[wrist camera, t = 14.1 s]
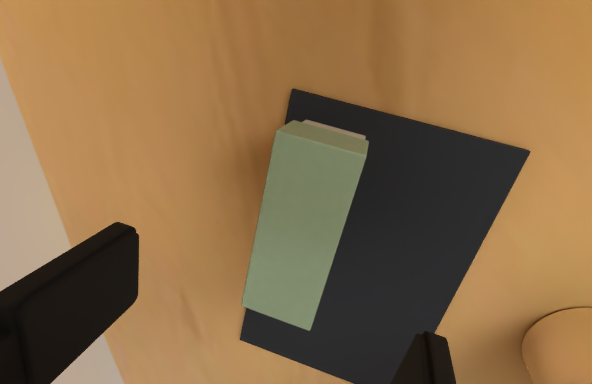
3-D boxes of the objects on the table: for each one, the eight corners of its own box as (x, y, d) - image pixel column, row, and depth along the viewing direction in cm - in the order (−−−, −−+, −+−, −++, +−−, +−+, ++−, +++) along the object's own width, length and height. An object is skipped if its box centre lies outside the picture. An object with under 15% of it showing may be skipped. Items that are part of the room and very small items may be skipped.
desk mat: (293, 88, 19) (291, 88, 19) (528, 150, 17) (531, 151, 17) (241, 337, 27) (239, 339, 27) (398, 397, 25) (398, 400, 25)
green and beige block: (303, 113, 19) (275, 129, 14) (371, 131, 19) (366, 155, 14) (271, 254, 23) (240, 306, 18) (326, 272, 22) (309, 331, 18)
